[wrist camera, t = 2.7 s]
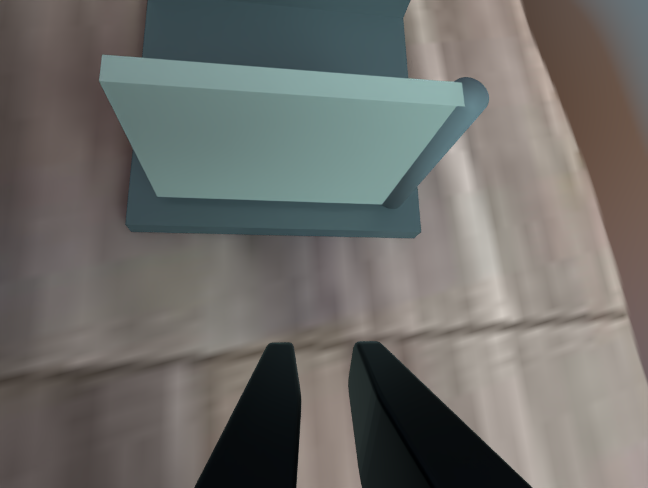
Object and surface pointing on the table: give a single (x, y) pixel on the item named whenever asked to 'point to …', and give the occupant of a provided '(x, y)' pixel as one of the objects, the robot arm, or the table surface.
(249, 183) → the door
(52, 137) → the table surface
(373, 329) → the table surface
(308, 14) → the housing
